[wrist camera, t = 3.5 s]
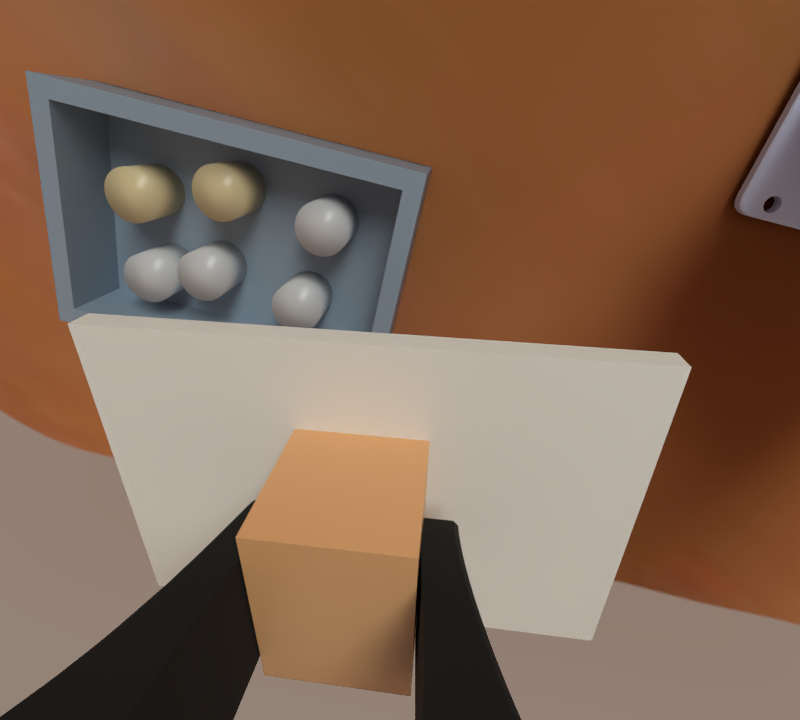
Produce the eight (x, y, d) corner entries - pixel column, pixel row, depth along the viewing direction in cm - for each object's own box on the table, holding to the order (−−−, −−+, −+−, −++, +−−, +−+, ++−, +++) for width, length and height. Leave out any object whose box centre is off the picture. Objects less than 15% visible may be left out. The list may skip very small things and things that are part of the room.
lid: (677, 352, 9) (801, 481, 6) (586, 619, 13) (628, 784, 9) (88, 312, 10) (-86, 400, 7) (170, 568, 14) (83, 700, 11)
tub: (432, 167, 16) (427, 174, 13) (384, 363, 19) (373, 400, 17) (98, 81, 16) (25, 70, 13) (114, 294, 19) (59, 319, 17)
